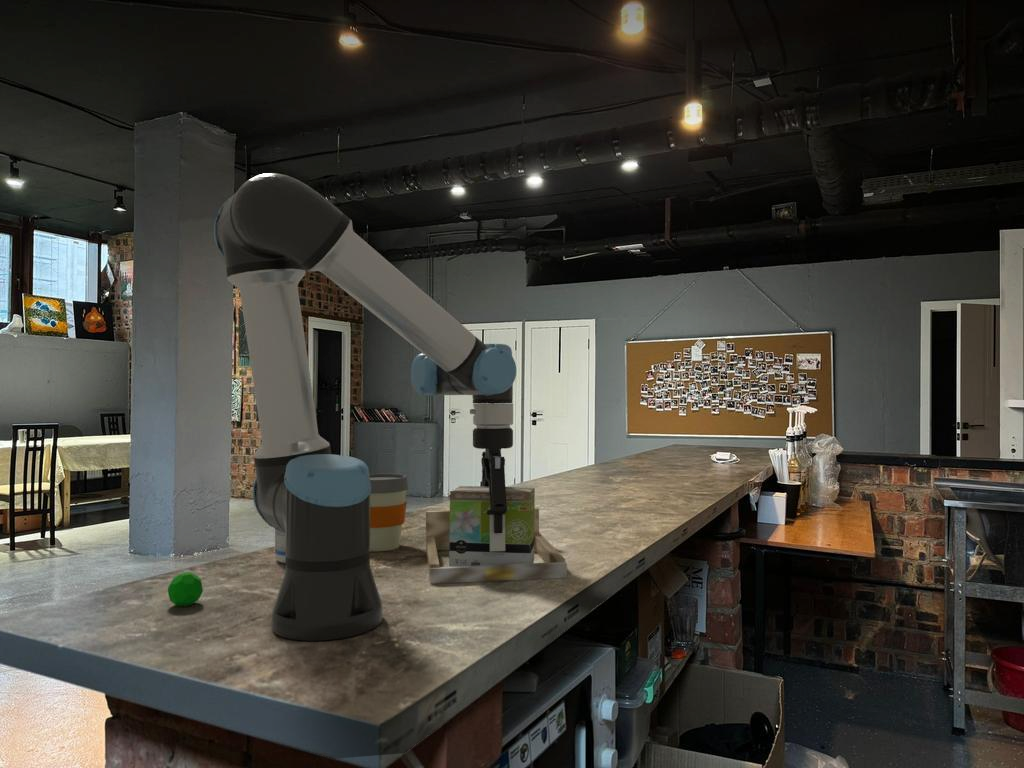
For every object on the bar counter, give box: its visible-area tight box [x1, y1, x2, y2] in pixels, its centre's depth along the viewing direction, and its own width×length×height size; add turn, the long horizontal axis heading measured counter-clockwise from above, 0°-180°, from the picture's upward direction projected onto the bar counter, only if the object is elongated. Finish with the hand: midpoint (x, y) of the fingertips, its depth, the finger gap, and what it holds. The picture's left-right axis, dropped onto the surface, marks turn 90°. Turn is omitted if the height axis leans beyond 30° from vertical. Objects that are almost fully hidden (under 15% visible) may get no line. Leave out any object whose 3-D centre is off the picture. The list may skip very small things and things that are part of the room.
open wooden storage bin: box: [425, 507, 568, 585], centre depth 136 cm, size 24×28×8 cm
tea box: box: [448, 485, 536, 567], centre depth 131 cm, size 15×10×15 cm
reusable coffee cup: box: [369, 473, 409, 552], centre depth 151 cm, size 13×13×15 cm
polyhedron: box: [167, 572, 204, 607], centre depth 109 cm, size 5×5×5 cm
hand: (493, 543), depth 131 cm, fingers open, 11 cm apart
